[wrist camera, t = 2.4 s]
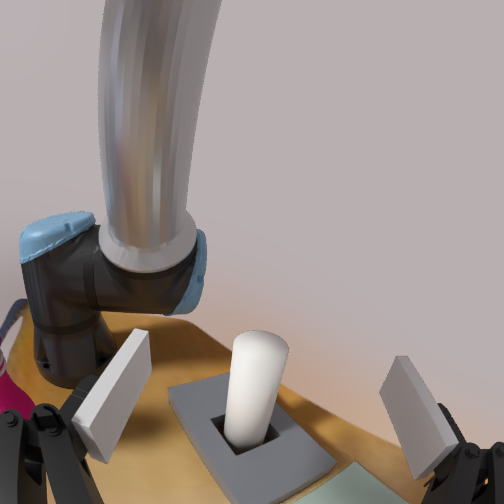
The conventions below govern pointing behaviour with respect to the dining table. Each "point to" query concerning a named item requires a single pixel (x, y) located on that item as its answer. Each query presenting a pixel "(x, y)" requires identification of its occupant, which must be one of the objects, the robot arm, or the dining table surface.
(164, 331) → the dining table surface
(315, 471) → the grey holed plate
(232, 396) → the plug
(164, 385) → the dining table surface
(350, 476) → the pad
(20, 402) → the pink bowling pin
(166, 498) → the dining table surface
